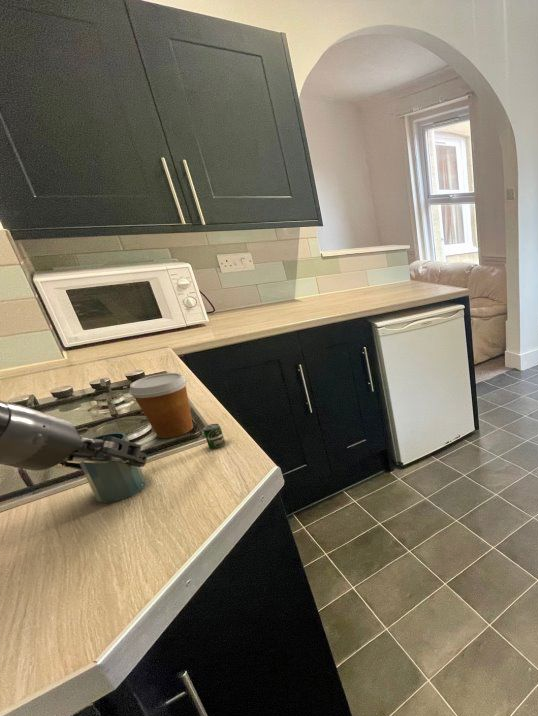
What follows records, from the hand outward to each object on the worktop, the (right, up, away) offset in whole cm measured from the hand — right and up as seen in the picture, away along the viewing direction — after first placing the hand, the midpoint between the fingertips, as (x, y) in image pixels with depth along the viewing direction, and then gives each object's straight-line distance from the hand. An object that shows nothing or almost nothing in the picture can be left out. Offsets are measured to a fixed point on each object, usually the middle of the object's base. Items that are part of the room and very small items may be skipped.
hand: (117, 462), depth 70 cm
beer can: (+7, +1, +14) cm, 16 cm away
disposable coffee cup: (-7, +3, +21) cm, 22 cm away
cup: (0, -5, +1) cm, 5 cm away
